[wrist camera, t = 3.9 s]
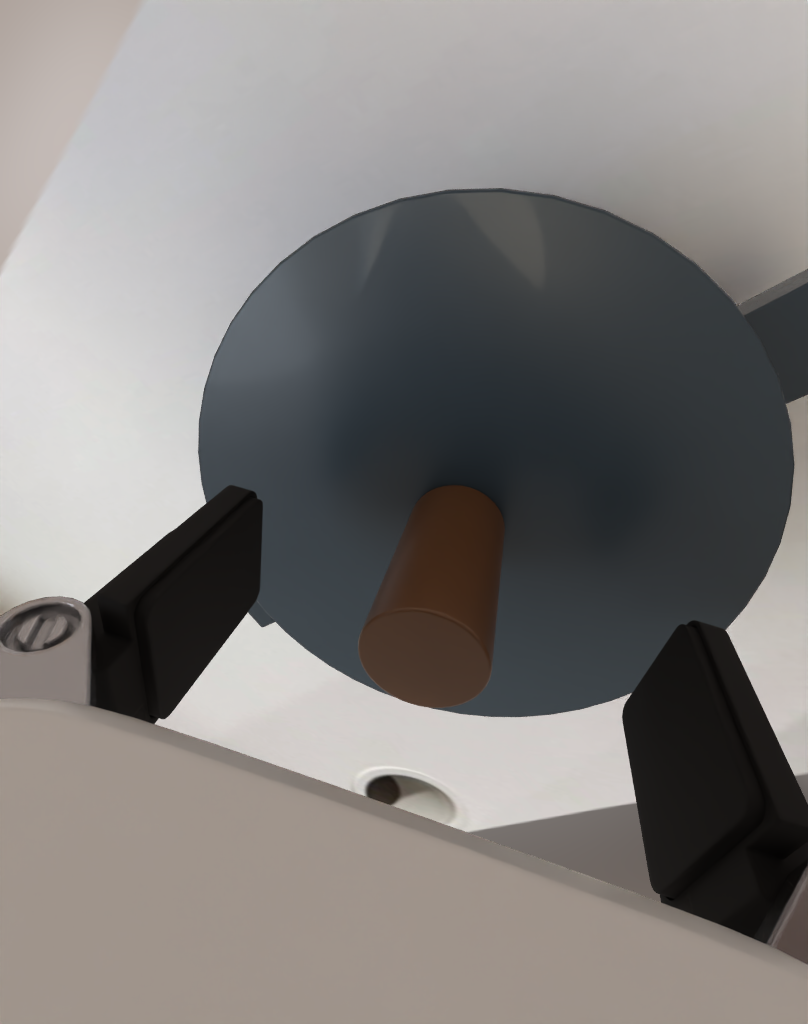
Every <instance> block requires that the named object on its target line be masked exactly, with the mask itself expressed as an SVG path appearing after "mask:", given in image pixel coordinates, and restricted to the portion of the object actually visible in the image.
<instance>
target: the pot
mask: <svg viewBox="0 0 808 1024" xmlns="http://www.w3.org/2000/svg"><path fill="white" fill-rule="evenodd" d="M737 307H738V308H739V310H740V311H741V313H742V314H743V315H744V317H745V318H746V320H747V321H748V322H749V324H750V325H751V327H752V328H753V330H754V331H755V332H756V334H757V335H758V337H759V338H760V340H761V342H762V344H763V346H764V348H765V351H766V353H767V355H768V357H769V359H770V361H771V363H772V365H773V368H774V370H775V372H776V374H777V376H778V378H779V380H780V384H781V388H782V392H783V395H784V399H785V403H786V404H787V403H789V402H791V401H794V400H796V399H798V398H801V397H803V396H805V395H808V269H807V270H805V271H803V272H801V273H799V274H797V275H795V276H793V277H791V278H789V279H787V280H786V281H784V282H782V283H780V284H778V285H776V286H774V287H772V288H770V289H768V290H767V291H765V292H763V293H761V294H759V295H757V296H755V297H753V298H751V299H749V300H747V301H746V302H744V303H742V304H740V305H738V306H737ZM248 613H249V614H250V615H251V616H252V617H253V618H254V619H255V621H256V622H257V623H258V624H259V625H260V626H261V627H265V626H267V625H269V624H272V623H274V622H275V621H274V620H273V619H272V618H271V617H270V616H269V615H268V614H267V613H266V612H265V610H264V609H263V608H262V607H261V605H260V604H259V603H258V602H257V600H256V602H255V603H254V605H253V606H252V607H251V609H250V610H249V611H248Z"/></svg>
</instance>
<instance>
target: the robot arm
mask: <svg viewBox="0 0 808 1024" xmlns="http://www.w3.org/2000/svg"><path fill="white" fill-rule="evenodd" d="M262 520H263V502H262V501H261V500H260V499H257V495H256V493H255V492H254V491H251V490H248V489H245V488H241V487H238V486H234V485H229V486H227V487H226V488H224V489H223V490H222V491H221V492H220V493H218V494H217V495H216V496H215V497H214V498H212V499H211V500H210V501H209V502H208V503H206V504H205V505H204V506H203V507H201V508H200V509H199V510H198V511H197V512H195V513H194V514H193V515H192V516H191V517H189V518H188V519H187V520H186V521H185V522H183V523H182V524H181V525H180V526H178V527H177V528H176V529H175V530H173V531H171V532H170V533H168V534H167V535H166V536H165V537H163V538H162V539H161V540H160V541H159V542H157V543H156V544H155V545H154V546H153V547H151V548H150V549H149V550H148V551H146V552H145V553H144V554H143V555H142V556H140V557H139V558H138V559H137V560H136V561H134V562H133V563H132V564H131V565H129V566H128V567H127V568H126V569H125V570H123V571H122V572H121V573H120V574H119V575H117V576H116V577H115V578H114V579H112V580H111V581H110V582H109V583H108V584H106V585H105V586H104V587H103V588H102V589H100V590H99V591H98V592H97V593H95V594H94V595H93V596H92V597H91V598H89V599H88V600H87V601H86V602H85V603H83V602H81V601H78V600H76V599H74V598H68V597H60V596H58V597H44V598H40V599H36V600H32V601H28V602H26V603H24V604H21V605H19V606H16V607H14V608H13V609H11V610H10V611H8V612H6V613H5V614H3V615H2V616H1V617H0V1024H808V804H807V802H806V800H805V797H804V795H803V793H802V791H801V789H800V787H799V785H798V783H797V781H796V778H795V776H794V774H793V772H792V770H791V768H790V765H789V763H788V761H787V759H786V757H785V755H784V753H783V751H782V748H781V746H780V744H779V742H778V740H777V738H776V736H775V733H774V731H773V729H772V727H771V725H770V723H769V721H768V719H767V716H766V714H765V712H764V710H763V708H762V706H761V704H760V701H759V699H758V697H757V695H756V693H755V691H754V689H753V687H752V684H751V682H750V680H749V678H748V676H747V674H746V672H745V669H744V667H743V665H742V663H741V661H740V659H739V657H738V655H737V652H736V650H735V648H734V646H733V644H732V642H731V640H730V637H729V635H728V633H727V632H726V631H725V630H724V629H723V628H720V627H717V626H713V625H710V624H706V623H703V622H699V621H696V620H692V621H690V622H689V623H688V624H687V625H685V624H680V625H679V626H678V627H677V628H676V629H675V631H674V632H673V634H672V635H671V637H670V638H669V639H668V641H667V642H666V644H665V645H664V647H663V648H662V650H661V651H660V653H659V654H658V656H657V657H656V659H655V660H654V662H653V663H652V665H651V666H650V668H649V669H648V671H647V672H646V674H645V675H644V676H643V678H642V679H641V681H640V682H639V684H638V685H637V687H636V688H635V690H634V691H633V693H632V694H631V696H630V697H629V699H628V700H627V702H626V703H625V706H624V709H623V715H622V719H623V726H624V732H625V738H626V744H627V749H628V755H629V761H630V767H631V773H632V778H633V784H634V790H635V796H636V802H637V807H638V813H639V819H640V825H641V831H642V837H643V842H644V848H645V854H646V860H647V866H648V872H649V877H650V882H651V886H652V888H653V890H654V891H655V892H656V893H658V894H660V898H661V902H658V901H655V900H653V899H650V898H648V897H645V896H642V895H640V894H637V893H634V892H632V891H629V890H626V889H623V888H620V887H618V886H615V885H612V884H609V883H607V882H604V881H601V880H598V879H596V878H593V877H590V876H587V875H584V874H581V873H579V872H576V871H573V870H570V869H568V868H565V867H562V866H559V865H557V864H554V863H551V862H548V861H545V860H543V859H540V858H537V857H534V856H531V855H528V854H526V853H523V852H520V851H517V850H514V849H512V848H509V847H506V846H504V845H500V844H498V843H495V842H492V841H489V840H486V839H484V838H481V837H478V836H476V835H472V834H470V833H467V832H464V831H461V830H459V829H456V828H453V827H450V826H447V825H444V824H442V823H439V822H436V821H433V820H430V819H428V818H425V817H422V816H419V815H416V814H413V813H411V812H408V811H405V810H402V809H399V808H396V807H394V806H391V805H388V804H385V803H382V802H379V801H376V800H374V799H371V798H368V797H365V796H362V795H359V794H357V793H354V792H351V791H348V790H345V789H342V788H340V787H337V786H334V785H331V784H328V783H325V782H322V781H320V780H317V779H314V778H311V777H308V776H305V775H302V774H299V773H296V772H294V771H291V770H288V769H285V768H282V767H279V766H276V765H273V764H271V763H268V762H265V761H262V760H259V759H256V758H253V757H250V756H247V755H245V754H242V753H239V752H236V751H233V750H230V749H227V748H224V747H222V746H219V745H216V744H213V743H210V742H207V741H204V740H201V739H198V738H195V737H192V736H189V735H186V734H183V733H179V732H176V731H173V730H170V729H167V728H164V727H161V726H158V725H155V722H156V721H157V720H158V718H160V719H166V718H167V717H168V716H169V715H170V714H171V713H172V711H173V710H174V709H175V708H176V706H177V705H178V704H179V702H180V701H181V700H182V698H183V697H184V696H185V694H186V693H187V692H188V690H189V689H190V688H191V686H192V685H193V684H194V682H195V681H196V680H197V678H198V677H199V676H200V675H201V673H202V672H203V671H204V669H205V668H206V667H207V665H208V664H209V663H210V661H211V660H212V659H213V657H214V656H215V655H216V653H217V652H218V651H219V649H220V648H221V647H222V645H223V644H224V643H225V642H226V640H227V639H228V638H229V636H230V635H231V634H232V632H233V631H234V630H235V628H236V627H237V626H238V624H239V623H240V622H241V620H242V619H243V618H244V616H245V615H246V614H247V613H248V611H249V610H250V609H251V607H252V606H253V605H254V603H255V602H256V600H257V598H258V595H259V592H260V579H261V550H262Z"/></svg>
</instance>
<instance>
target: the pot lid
mask: <svg viewBox="0 0 808 1024" xmlns="http://www.w3.org/2000/svg"><path fill="white" fill-rule="evenodd" d="M198 454H199V463H200V472H201V481H202V486H203V490H204V495H205V499H206V503H208V502H209V501H210V500H211V499H212V498H214V497H215V496H216V495H217V494H218V493H220V492H221V491H222V490H223V489H224V488H226V487H227V486H229V485H234V486H238V487H241V488H245V489H248V490H251V491H254V492H255V493H256V495H257V499H260V500H261V501H262V502H263V520H262V550H261V579H260V592H259V595H258V598H257V602H258V603H259V604H260V605H261V607H262V608H263V609H264V610H265V612H266V613H267V614H268V615H269V616H270V617H271V618H272V619H273V620H274V621H275V622H276V623H277V624H278V625H279V626H280V627H281V628H282V629H283V630H284V631H285V632H286V633H288V634H289V635H290V636H291V637H292V638H293V639H295V640H296V641H297V642H298V643H299V644H301V645H302V646H303V647H304V648H305V649H306V650H308V651H309V652H311V653H312V654H314V655H315V656H317V657H318V658H319V659H321V660H322V661H324V662H325V663H327V664H328V665H329V666H331V667H333V668H335V669H336V670H338V671H340V672H342V673H343V674H345V675H347V676H348V677H350V678H352V679H354V680H356V681H358V682H360V683H362V684H364V685H367V686H369V687H371V688H373V689H375V690H377V691H379V692H382V693H385V694H388V695H390V696H393V697H396V698H398V699H400V700H402V701H405V702H408V703H411V704H414V705H418V706H424V707H429V708H433V709H438V710H443V711H449V712H454V713H459V714H468V715H478V716H488V717H527V716H539V715H551V714H557V713H562V712H568V711H574V710H580V709H584V708H587V707H591V706H594V705H598V704H602V703H605V702H609V701H612V700H615V699H617V698H620V697H622V696H625V695H627V694H630V693H633V691H634V690H635V688H636V687H637V685H638V684H639V682H640V681H641V679H642V678H643V676H644V675H645V674H646V672H647V671H648V669H649V668H650V666H651V665H652V663H653V662H654V660H655V659H656V657H657V656H658V654H659V653H660V651H661V650H662V648H663V647H664V645H665V644H666V642H667V641H668V639H669V638H670V637H671V635H672V634H673V632H674V631H675V629H676V628H677V627H678V626H679V625H680V624H685V625H687V624H688V623H689V622H690V621H692V620H696V621H699V622H703V623H706V624H710V625H713V626H717V627H720V628H723V629H724V630H726V629H727V628H728V626H729V625H730V624H731V623H732V622H733V621H734V620H735V618H736V617H737V616H738V615H739V614H740V613H741V612H742V610H743V609H744V608H745V607H746V605H747V604H748V602H749V601H750V599H751V598H752V596H753V595H754V593H755V592H756V590H757V589H758V587H759V586H760V584H761V582H762V581H763V579H764V578H765V576H766V574H767V572H768V569H769V567H770V565H771V563H772V561H773V558H774V556H775V554H776V552H777V550H778V547H779V545H780V543H781V539H782V535H783V532H784V528H785V524H786V521H787V517H788V513H789V509H790V505H791V495H792V484H793V473H794V455H793V443H792V431H791V422H790V418H789V414H788V410H787V407H786V403H785V399H784V395H783V392H782V388H781V384H780V380H779V378H778V376H777V374H776V372H775V370H774V368H773V365H772V363H771V361H770V359H769V357H768V355H767V353H766V351H765V348H764V346H763V344H762V342H761V340H760V338H759V337H758V335H757V334H756V332H755V331H754V330H753V328H752V327H751V325H750V324H749V322H748V321H747V320H746V318H745V317H744V315H743V314H742V313H741V311H740V310H739V308H738V307H737V306H736V304H735V303H734V301H733V300H732V299H731V298H730V297H729V296H728V295H727V294H726V293H725V292H724V291H723V290H722V289H721V288H720V287H719V286H718V285H717V284H716V283H715V282H714V281H713V280H712V279H711V278H710V277H709V276H708V275H707V274H706V273H705V272H704V271H703V270H702V269H701V268H700V267H699V266H698V265H697V264H696V263H695V262H693V261H692V260H690V259H689V258H688V257H686V256H685V255H683V254H682V253H681V252H679V251H678V250H676V249H675V248H673V247H672V246H671V245H669V244H668V243H666V242H665V241H663V240H662V239H661V238H659V237H658V236H656V235H655V234H653V233H652V232H649V231H647V230H645V229H643V228H641V227H639V226H637V225H635V224H633V223H631V222H629V221H627V220H624V219H622V218H620V217H618V216H616V215H614V214H612V213H610V212H608V211H606V210H603V209H599V208H596V207H593V206H589V205H586V204H582V203H579V202H576V201H572V200H569V199H565V198H562V197H559V196H555V195H550V194H542V193H534V192H527V191H519V190H511V189H504V188H489V189H452V190H444V191H439V192H433V193H428V194H422V195H417V196H412V197H406V198H401V199H397V200H395V201H392V202H389V203H386V204H383V205H380V206H378V207H375V208H372V209H369V210H366V211H363V212H360V213H358V214H355V215H353V216H351V217H349V218H347V219H345V220H344V221H342V222H340V223H338V224H336V225H334V226H332V227H331V228H329V229H327V230H325V231H323V232H321V233H319V234H318V235H316V236H314V237H313V238H311V239H310V240H309V241H308V242H306V243H305V244H304V245H302V246H301V247H300V248H298V249H297V250H296V251H294V252H293V253H292V254H290V255H289V256H288V257H287V258H285V259H284V260H283V261H281V262H280V263H279V264H278V265H277V266H276V267H275V268H274V269H273V270H272V271H271V273H270V274H269V275H268V276H267V277H266V278H265V279H264V280H263V281H262V282H261V283H260V284H259V285H258V286H257V287H256V288H255V289H254V290H253V291H252V293H251V294H250V296H249V297H248V299H247V300H246V301H245V303H244V304H243V306H242V307H241V309H240V310H239V311H238V313H237V314H236V316H235V317H234V319H233V320H232V322H231V323H230V325H229V327H228V329H227V331H226V333H225V335H224V337H223V340H222V342H221V344H220V346H219V348H218V350H217V352H216V354H215V356H214V359H213V362H212V366H211V369H210V372H209V375H208V378H207V382H206V385H205V388H204V393H203V400H202V406H201V412H200V418H199V447H198Z"/></svg>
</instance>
